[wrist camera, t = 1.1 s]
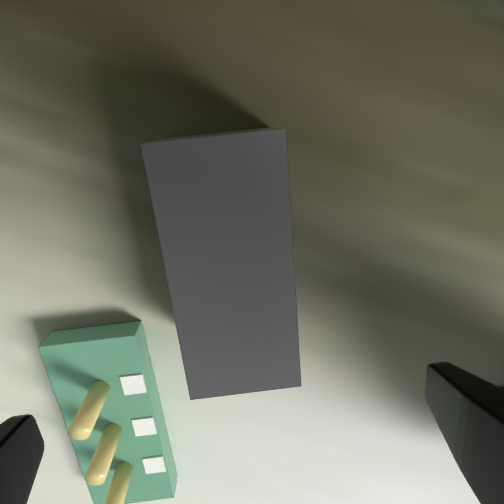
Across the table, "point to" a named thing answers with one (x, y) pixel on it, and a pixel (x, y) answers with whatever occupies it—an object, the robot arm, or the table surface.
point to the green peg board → (112, 411)
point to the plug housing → (228, 257)
